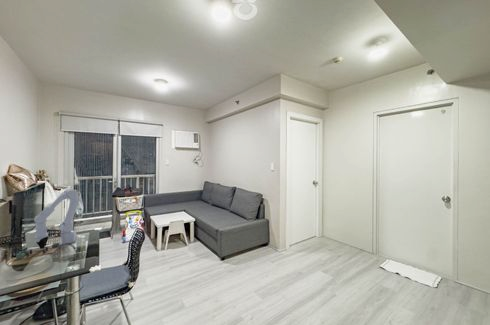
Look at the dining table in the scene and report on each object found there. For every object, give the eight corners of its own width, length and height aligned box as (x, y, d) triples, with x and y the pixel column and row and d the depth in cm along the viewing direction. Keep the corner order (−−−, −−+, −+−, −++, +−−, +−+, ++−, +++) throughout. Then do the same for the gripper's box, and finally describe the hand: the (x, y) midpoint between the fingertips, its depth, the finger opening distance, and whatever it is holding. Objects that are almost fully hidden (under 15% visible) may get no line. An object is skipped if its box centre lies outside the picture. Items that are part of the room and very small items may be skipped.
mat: (63, 244, 165) (62, 244, 164) (59, 247, 159) (59, 247, 159) (26, 251, 155) (26, 251, 155) (21, 255, 150) (21, 254, 150)
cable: (59, 245, 162) (58, 242, 162) (57, 247, 160) (57, 243, 159) (28, 251, 155) (28, 247, 155) (26, 252, 152) (26, 249, 152)
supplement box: (44, 244, 168) (42, 229, 167) (34, 248, 160) (32, 232, 160) (36, 244, 169) (35, 229, 168) (26, 248, 161) (24, 232, 161)
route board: (58, 248, 158) (58, 244, 158) (53, 253, 150) (52, 248, 150) (22, 255, 149) (21, 250, 149) (14, 261, 141) (13, 256, 141)
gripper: (39, 228, 161) (41, 245, 162) (29, 235, 148) (31, 253, 149) (50, 226, 164) (52, 243, 165) (41, 232, 151) (43, 250, 152)
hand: (43, 247), depth 157 cm, fingers closed on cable, 2 cm apart
